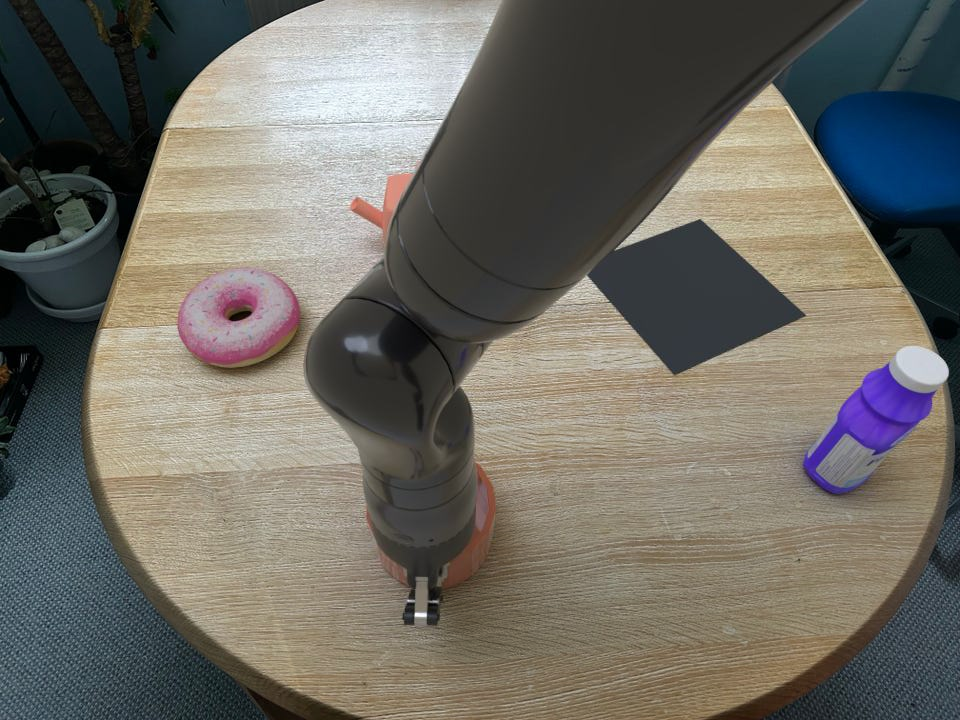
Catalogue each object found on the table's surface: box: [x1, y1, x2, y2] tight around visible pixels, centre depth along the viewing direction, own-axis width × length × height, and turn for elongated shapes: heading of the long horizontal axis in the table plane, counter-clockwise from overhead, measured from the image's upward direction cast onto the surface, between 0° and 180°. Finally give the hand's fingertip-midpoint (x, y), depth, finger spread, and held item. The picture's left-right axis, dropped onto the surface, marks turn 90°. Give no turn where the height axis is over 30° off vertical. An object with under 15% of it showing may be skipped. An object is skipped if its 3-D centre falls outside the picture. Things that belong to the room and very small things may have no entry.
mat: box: [586, 218, 807, 376], centre depth 84 cm, size 20×20×1 cm
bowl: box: [365, 462, 497, 590], centre depth 61 cm, size 11×11×6 cm
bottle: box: [802, 345, 950, 495], centre depth 62 cm, size 7×6×17 cm
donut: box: [176, 266, 302, 369], centre depth 77 cm, size 14×13×5 cm
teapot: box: [349, 161, 420, 248], centre depth 84 cm, size 14×12×10 cm
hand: (430, 583), depth 59 cm, fingers closed on bowl, 1 cm apart
